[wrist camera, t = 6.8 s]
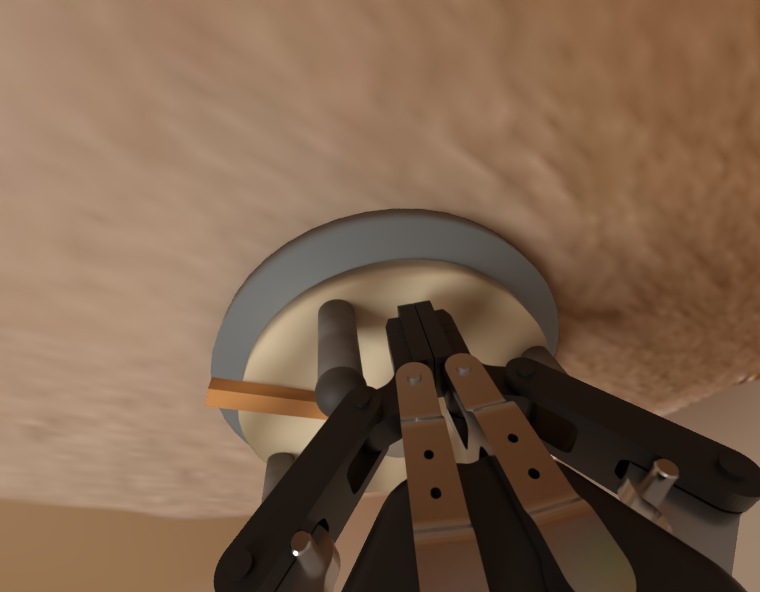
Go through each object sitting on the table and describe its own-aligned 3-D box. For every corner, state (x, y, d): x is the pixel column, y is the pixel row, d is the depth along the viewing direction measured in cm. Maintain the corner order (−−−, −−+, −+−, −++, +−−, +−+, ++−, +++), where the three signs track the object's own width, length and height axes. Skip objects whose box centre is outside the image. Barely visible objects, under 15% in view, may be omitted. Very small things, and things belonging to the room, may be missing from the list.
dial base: (594, 340, 27) (614, 359, 25) (388, 481, 35) (392, 504, 33) (393, 106, 16) (403, 110, 14) (150, 390, 23) (135, 417, 21)
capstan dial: (592, 304, 22) (710, 403, 15) (452, 474, 31) (487, 581, 25) (248, 201, 15) (193, 299, 8) (202, 457, 24) (158, 598, 18)
